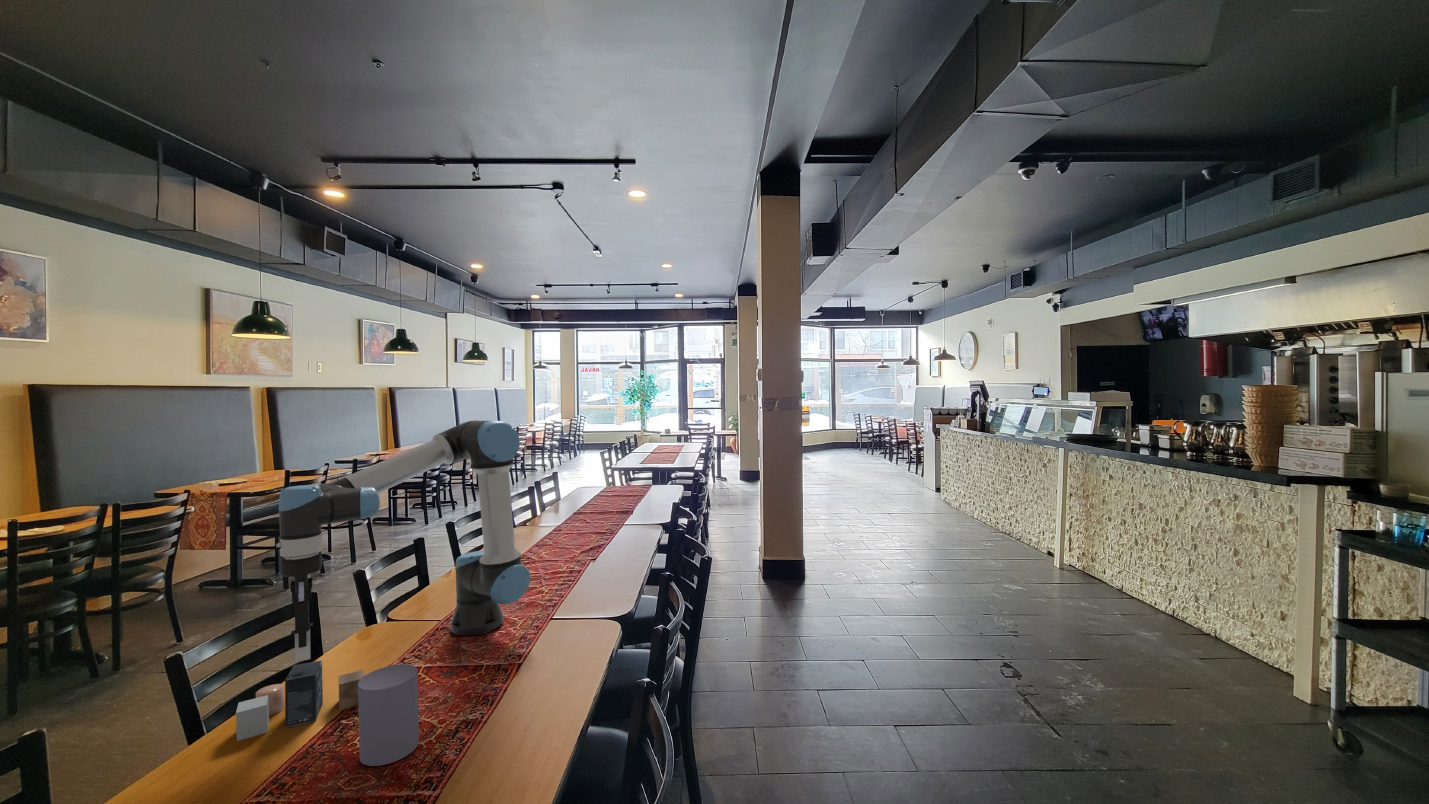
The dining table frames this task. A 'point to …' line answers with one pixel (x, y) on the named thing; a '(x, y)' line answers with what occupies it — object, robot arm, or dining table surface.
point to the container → (388, 714)
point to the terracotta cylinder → (273, 697)
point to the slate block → (252, 717)
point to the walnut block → (349, 689)
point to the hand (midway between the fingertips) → (302, 659)
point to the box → (303, 693)
